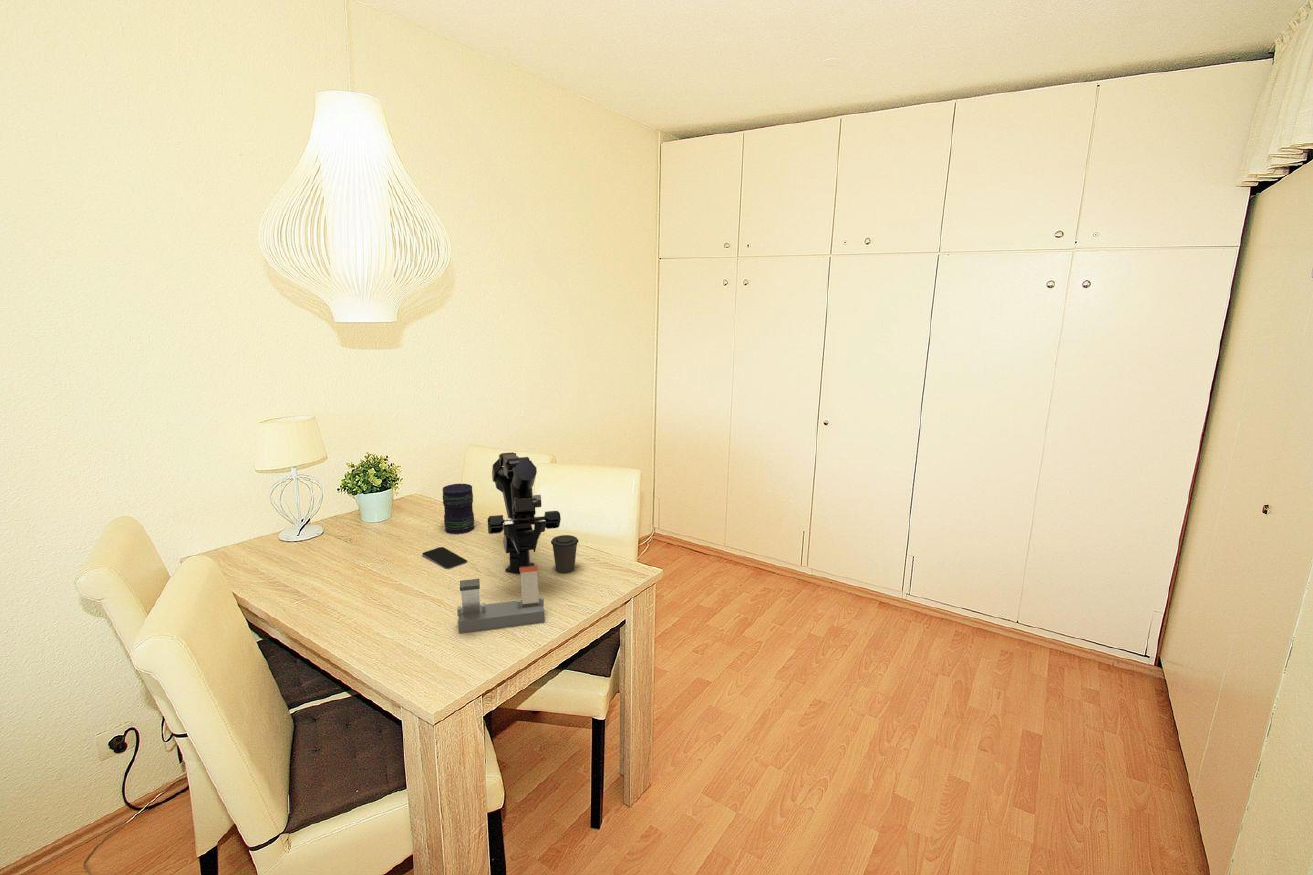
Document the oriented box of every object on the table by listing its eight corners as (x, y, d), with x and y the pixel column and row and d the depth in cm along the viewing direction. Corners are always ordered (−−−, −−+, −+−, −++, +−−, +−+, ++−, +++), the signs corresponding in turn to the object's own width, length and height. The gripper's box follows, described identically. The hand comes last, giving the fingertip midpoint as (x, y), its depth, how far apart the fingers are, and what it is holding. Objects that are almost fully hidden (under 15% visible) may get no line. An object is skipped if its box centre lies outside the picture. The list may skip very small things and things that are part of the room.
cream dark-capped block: (462, 607, 141) (459, 580, 137) (480, 605, 142) (479, 578, 138) (461, 614, 139) (459, 587, 135) (481, 612, 140) (479, 585, 136)
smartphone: (446, 569, 170) (420, 553, 180) (447, 572, 171) (420, 556, 180) (469, 561, 176) (442, 546, 185) (469, 564, 176) (442, 549, 185)
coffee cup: (545, 571, 171) (544, 539, 168) (562, 561, 178) (561, 530, 175) (568, 577, 167) (567, 545, 165) (584, 567, 174) (584, 535, 172)
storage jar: (480, 526, 204) (478, 485, 201) (461, 536, 195) (459, 493, 192) (458, 522, 208) (455, 482, 205) (438, 531, 199) (435, 489, 196)
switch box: (458, 618, 144) (457, 600, 143) (542, 608, 150) (542, 590, 149) (457, 633, 137) (456, 615, 136) (545, 621, 143) (544, 604, 142)
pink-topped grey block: (521, 602, 145) (519, 566, 146) (539, 600, 147) (537, 564, 147) (521, 604, 143) (519, 567, 144) (539, 602, 144) (537, 565, 145)
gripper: (486, 486, 149) (488, 543, 141) (559, 482, 155) (565, 536, 147) (486, 506, 158) (489, 560, 151) (555, 500, 164) (561, 553, 156)
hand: (526, 552), depth 151 cm, fingers open, 4 cm apart
